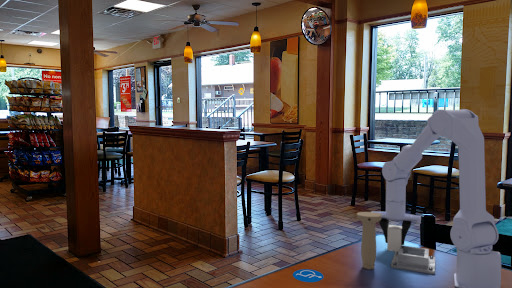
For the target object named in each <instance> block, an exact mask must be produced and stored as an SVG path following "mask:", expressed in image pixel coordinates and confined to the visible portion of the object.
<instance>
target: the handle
mask: <svg viewBox="0 0 512 288" xmlns="http://www.w3.org/2000/svg"><path fill="white" fill-rule="evenodd" d="M356 218H357V220H358V221H360V222H362V228H361V229H362V230H361V231H362V232H361V244H360V246H361V249H360V251H361V262H362V268H363V269H366V270H374V269H375V268H376V267H375V266H376V264H375V263H376V258H377V235H376V226H377V225H376V223H378V222H379V221H380V220H381V214H380V213H374V212H372V211H360V212H357V213H356Z"/></svg>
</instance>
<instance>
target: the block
mask: <svg viewBox="0 0 512 288" xmlns="http://www.w3.org/2000/svg"><path fill="white" fill-rule="evenodd" d="M401 240H402V225H395V224H389V226H388V237H387V243H386V244H387V245H386V246H387V247H386V248H387V251H389V252H397V251H399V249H400V246H403V245H401Z"/></svg>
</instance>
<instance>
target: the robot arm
mask: <svg viewBox="0 0 512 288" xmlns="http://www.w3.org/2000/svg"><path fill="white" fill-rule="evenodd" d="M440 137H443V138H446V139H448V140H450V141H451V142H453V144H455V145H456V146H457V147H458V176H459V179H458V180H459V186H458V187H459V210H458V212H457V213H456V214H455V215H454V217H453V218H452V219H453V220H452V221H453V223H452V227H451V229H450V234H449V235H450V239H451V242H452V244H453V246H455V247H454V248H455V249H456V269H455V270H456V271H455V273H453V280H454V287H455V288H501V284H502V256H501V252H499V251H494V250H493V245H495V244H496V243H498V240H499V231H498V228H497V227H496V222H495V217H494V216H493V215H492V214H491V213H489V211H487V206H486V205H487V204H486V201H487V199H486V167H485V166H486V164H485V163H486V161H485V159H486V158H485V153H486V152H485V136H484V134H483V133H482V130H481V128H480V125H479V116H478V115H476V114H475V113H474V112H473V111H472V110H469V109H467V108H466V109H465V108H463V109H443V108H442V109H437V110H435V111H433V113H432V115H431V116H430V117H428V118H427V122H426V126H425V127H424V128H423V130H422V131H421V132H420V133H419V135H418V136H417V137H416V138H415V140H414V141H413V142H412V144H408V145H407V144H406V145H403V146H402V147H401V150H400V152H398V154H397V155H396V156H394V158H393V159H392V160H390V161H385V162H384V164H383V165H382V169H381V173H382V176H383V178H384V180H385V183H386V184H385V190H386V191H385V211H376V210H375V211H373V210H372V211H371V212H374V213H380V214H381V220H380V221H379V223H378V224H379V226H380V228H381V230H382V232H383V236H384V241H385V242H384V243H385V244H387V237H388V226H389V225H390V224H389V223H390V221H398V222H402V223H401V226H402V240H401V245H402V246H405V239H406V236H407V234H408V232H409V230H410V228H411V226H412V223H415V224H420V225H421V223H422V222H421V221H422V215H417V214H416V215H415V214H410V213H406V201H407V199H406V197H407V194H406V193H407V192H406V190H407V188H406V187H407V185H408V180H409V178H410V177H411V174H412V170H413V168H415V167H416V166H417V165H418V163H419V162H421V160H422V159H423V152H425V150H426V149H428V148H429V147H430V146H432V144H433V143H435V141H437V140H438V139H439V138H440Z"/></svg>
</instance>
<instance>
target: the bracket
mask: <svg viewBox="0 0 512 288" xmlns="http://www.w3.org/2000/svg"><path fill="white" fill-rule="evenodd" d="M390 268H391V269H397V270H405V271H411V272H417V273H423V274H429V275H430V274H431V275H436V256H434V255H430V248H424V247H423V248H422V247H416V246H407V245H402V246H400V249H399V251H397V252H396V251H394V254H393V257H392V260H391V263H390Z"/></svg>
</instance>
